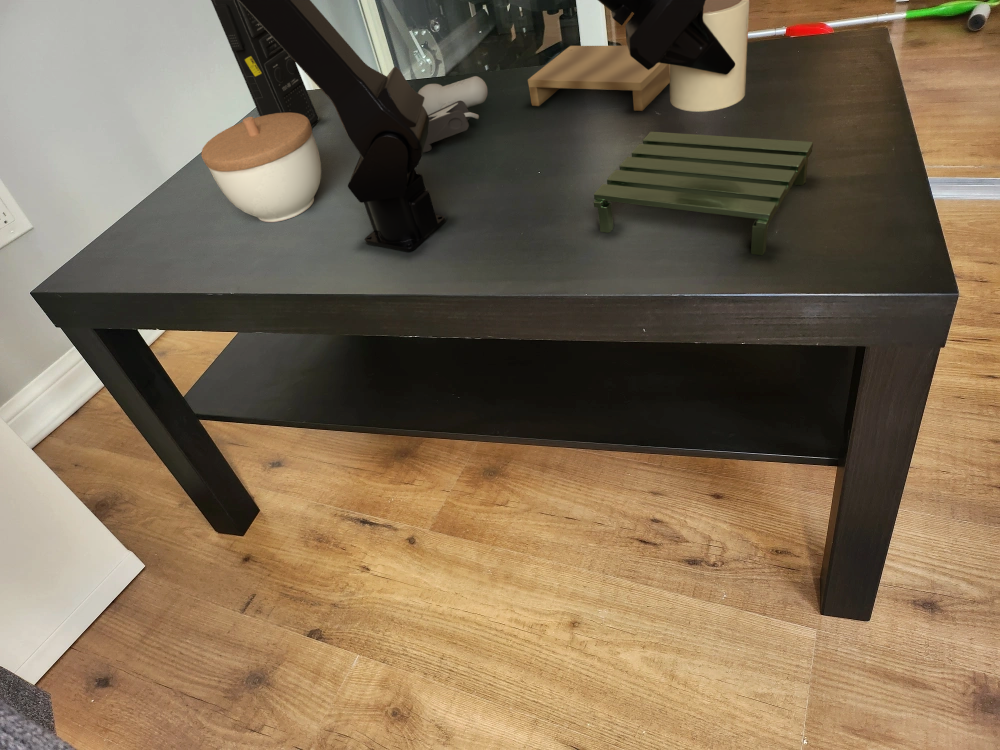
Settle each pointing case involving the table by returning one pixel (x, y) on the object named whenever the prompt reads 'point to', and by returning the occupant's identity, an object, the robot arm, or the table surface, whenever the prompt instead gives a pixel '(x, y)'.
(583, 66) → the shelf
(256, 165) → the lidded bowl
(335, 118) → the table surface
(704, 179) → the rack
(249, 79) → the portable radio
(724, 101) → the cup
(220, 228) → the table surface
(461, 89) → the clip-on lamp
